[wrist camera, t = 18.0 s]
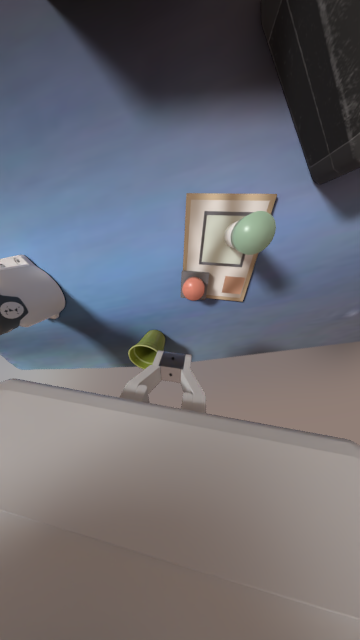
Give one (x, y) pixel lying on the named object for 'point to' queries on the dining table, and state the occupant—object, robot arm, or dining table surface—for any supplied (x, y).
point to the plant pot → (147, 349)
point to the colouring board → (219, 242)
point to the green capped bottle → (251, 233)
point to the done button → (193, 288)
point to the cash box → (319, 77)
